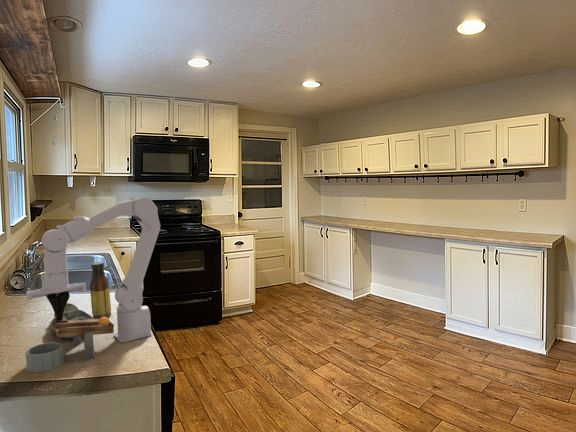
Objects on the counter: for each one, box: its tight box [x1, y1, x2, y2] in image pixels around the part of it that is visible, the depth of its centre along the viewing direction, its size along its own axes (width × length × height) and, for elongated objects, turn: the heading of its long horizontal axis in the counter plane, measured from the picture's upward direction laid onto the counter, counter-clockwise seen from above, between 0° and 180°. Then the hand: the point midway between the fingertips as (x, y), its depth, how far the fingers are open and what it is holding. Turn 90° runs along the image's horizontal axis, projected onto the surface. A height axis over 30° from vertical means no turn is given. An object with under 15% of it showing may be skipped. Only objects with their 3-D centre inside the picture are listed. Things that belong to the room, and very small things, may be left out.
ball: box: [98, 317, 111, 325], centre depth 115 cm, size 3×3×3 cm
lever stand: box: [72, 318, 95, 362], centre depth 114 cm, size 2×16×8 cm, turn 40°
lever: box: [49, 317, 115, 338], centre depth 114 cm, size 14×13×2 cm
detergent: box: [47, 302, 94, 341], centre depth 132 cm, size 13×7×25 cm
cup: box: [25, 341, 64, 373], centre depth 106 cm, size 8×8×4 cm
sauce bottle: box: [89, 261, 112, 319], centre depth 142 cm, size 6×6×20 cm
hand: (59, 318), depth 113 cm, fingers closed
